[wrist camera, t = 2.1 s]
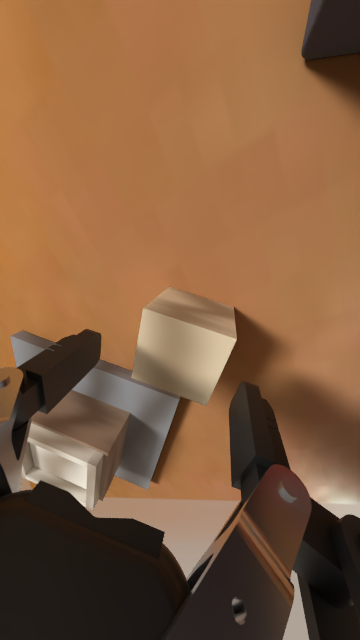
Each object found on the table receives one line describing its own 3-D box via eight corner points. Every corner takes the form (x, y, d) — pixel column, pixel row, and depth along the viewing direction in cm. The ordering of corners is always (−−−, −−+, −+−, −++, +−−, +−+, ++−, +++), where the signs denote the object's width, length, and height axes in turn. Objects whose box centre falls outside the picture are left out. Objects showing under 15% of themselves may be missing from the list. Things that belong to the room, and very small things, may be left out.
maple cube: (233, 306, 14) (236, 339, 9) (212, 358, 16) (206, 405, 11) (169, 286, 14) (143, 308, 10) (157, 339, 16) (131, 377, 12)
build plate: (182, 390, 18) (162, 458, 12) (150, 479, 26) (130, 545, 20) (22, 330, 20) (-59, 366, 14) (39, 431, 28) (-8, 479, 22)
